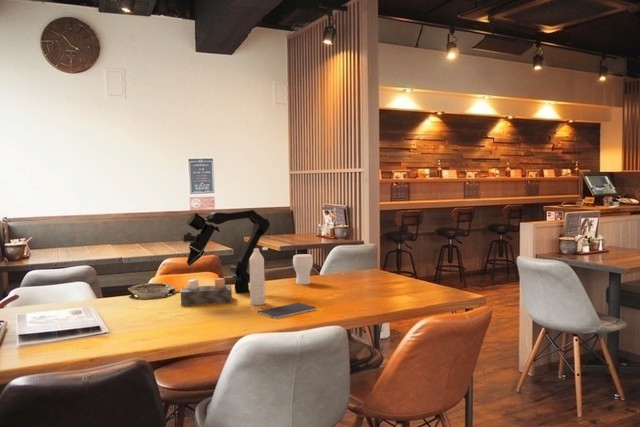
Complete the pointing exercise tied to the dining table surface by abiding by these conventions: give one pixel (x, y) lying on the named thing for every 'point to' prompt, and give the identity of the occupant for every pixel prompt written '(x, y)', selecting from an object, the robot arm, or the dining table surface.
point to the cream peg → (193, 284)
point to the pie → (152, 290)
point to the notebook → (286, 310)
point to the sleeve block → (206, 295)
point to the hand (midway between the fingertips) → (188, 264)
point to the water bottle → (257, 278)
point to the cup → (302, 268)
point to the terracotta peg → (220, 283)
